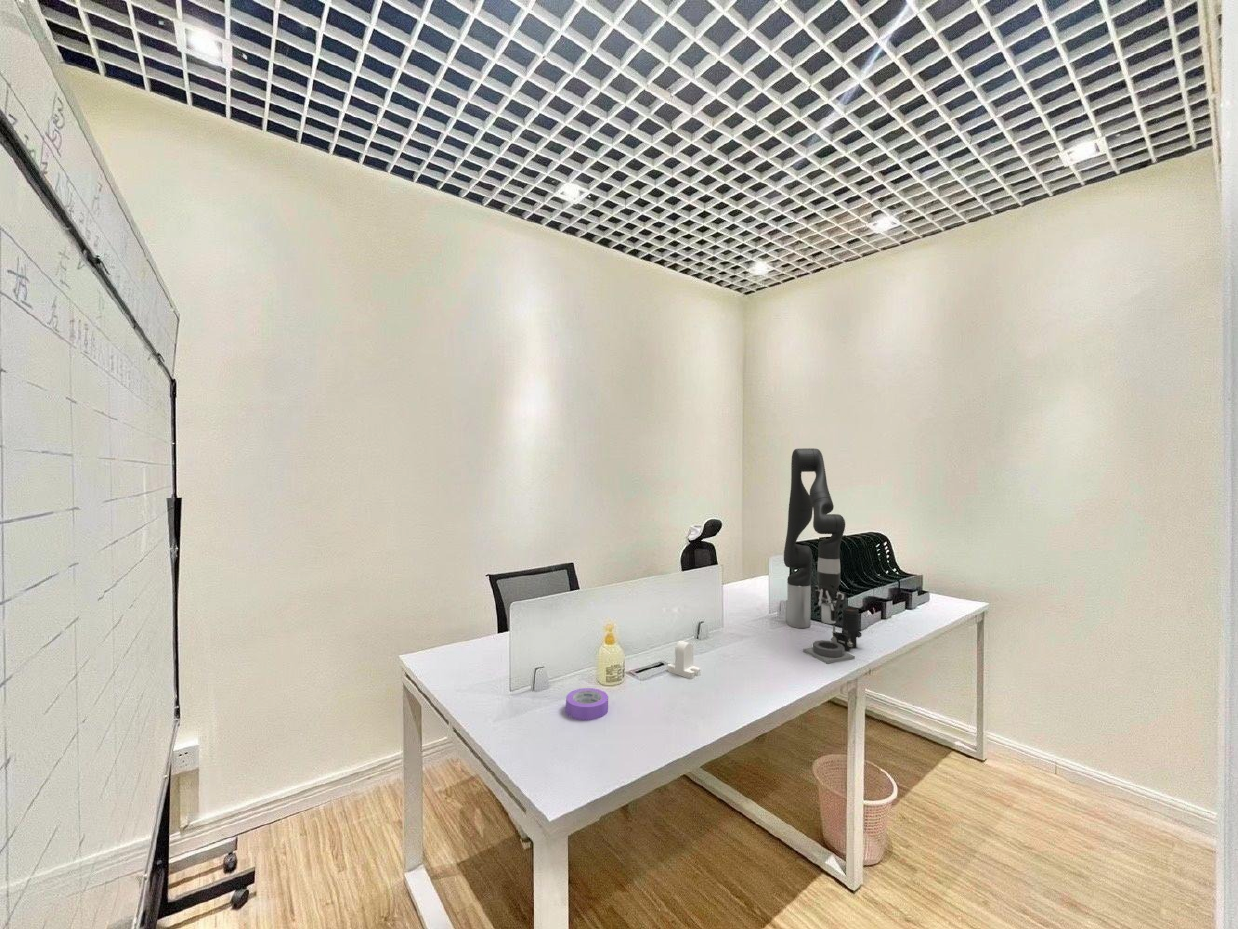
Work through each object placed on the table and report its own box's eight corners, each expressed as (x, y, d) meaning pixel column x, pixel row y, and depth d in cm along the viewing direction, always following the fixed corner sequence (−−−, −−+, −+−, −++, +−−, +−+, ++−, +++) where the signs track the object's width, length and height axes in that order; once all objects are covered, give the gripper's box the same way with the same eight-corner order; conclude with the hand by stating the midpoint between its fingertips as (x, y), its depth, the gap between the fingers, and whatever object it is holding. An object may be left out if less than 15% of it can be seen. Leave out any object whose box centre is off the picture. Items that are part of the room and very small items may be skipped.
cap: (818, 620, 186) (818, 602, 186) (829, 618, 188) (829, 601, 188) (828, 624, 182) (828, 606, 182) (839, 622, 184) (839, 605, 183)
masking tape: (597, 697, 153) (597, 684, 152) (615, 715, 142) (615, 701, 142) (559, 706, 147) (559, 692, 147) (575, 725, 137) (575, 710, 137)
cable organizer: (691, 679, 165) (691, 648, 165) (666, 670, 171) (666, 640, 171) (701, 674, 169) (701, 643, 168) (676, 666, 175) (676, 636, 175)
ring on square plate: (803, 651, 188) (803, 641, 188) (829, 647, 193) (829, 637, 193) (827, 663, 177) (827, 653, 177) (854, 659, 182) (854, 649, 182)
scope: (830, 609, 194) (845, 604, 200) (830, 646, 194) (845, 640, 200) (851, 614, 187) (866, 609, 193) (851, 653, 187) (866, 647, 193)
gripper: (806, 567, 190) (806, 614, 190) (835, 575, 177) (835, 625, 177) (822, 565, 193) (822, 612, 193) (852, 573, 179) (852, 623, 180)
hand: (828, 618), depth 185 cm, fingers closed on cap, 4 cm apart
